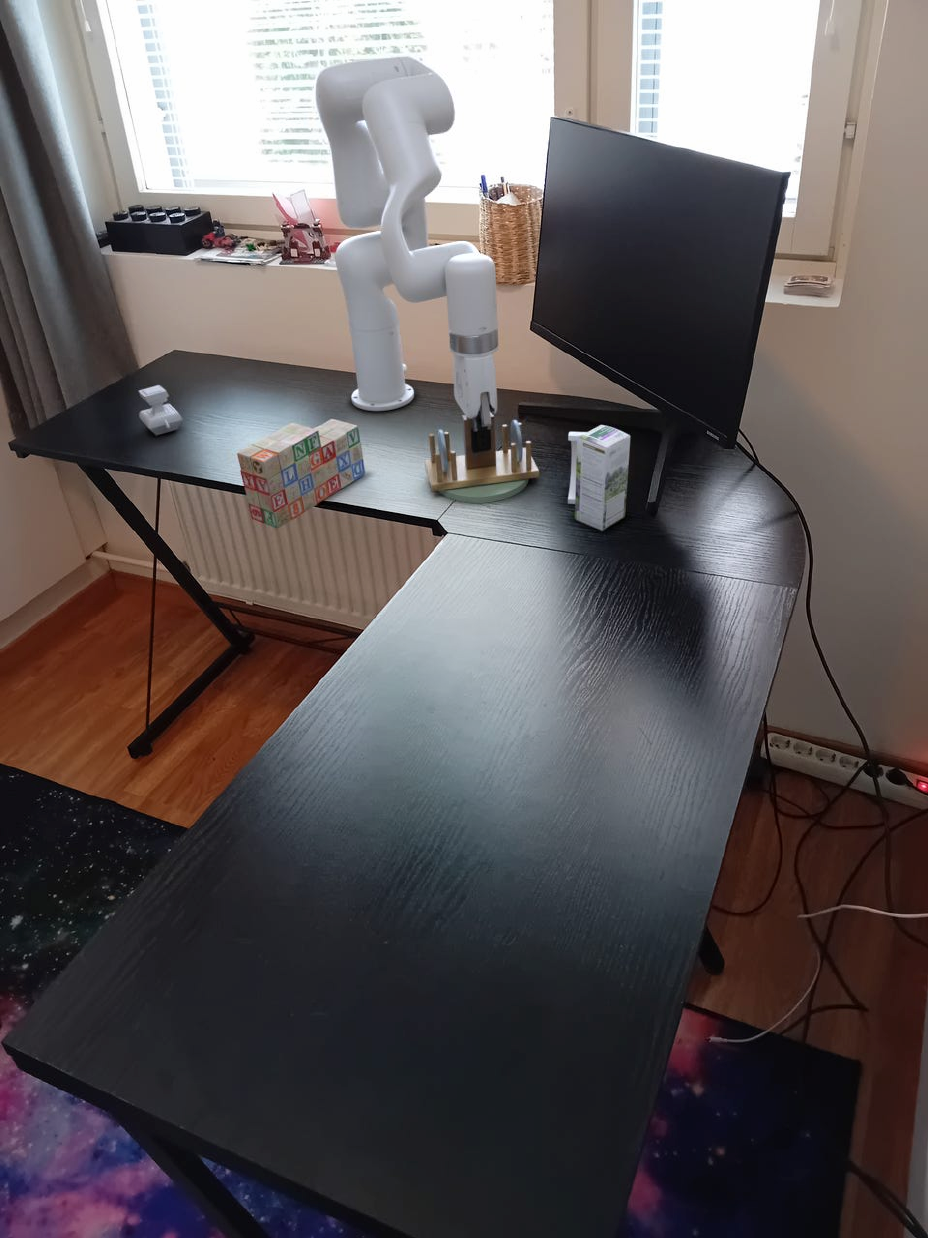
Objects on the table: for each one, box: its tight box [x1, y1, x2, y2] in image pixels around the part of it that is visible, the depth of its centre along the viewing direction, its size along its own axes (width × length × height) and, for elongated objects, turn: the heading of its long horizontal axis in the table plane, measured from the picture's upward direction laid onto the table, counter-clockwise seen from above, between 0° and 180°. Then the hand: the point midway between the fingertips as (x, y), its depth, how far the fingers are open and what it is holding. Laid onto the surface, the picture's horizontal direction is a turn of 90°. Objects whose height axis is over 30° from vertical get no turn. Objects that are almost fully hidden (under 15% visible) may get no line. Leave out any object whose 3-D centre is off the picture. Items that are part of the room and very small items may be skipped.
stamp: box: [138, 384, 183, 436], centre depth 182 cm, size 9×7×8 cm
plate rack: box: [424, 412, 540, 492], centre depth 156 cm, size 18×9×10 cm, turn 99°
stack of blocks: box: [236, 418, 366, 529], centre depth 155 cm, size 21×6×12 cm, turn 143°
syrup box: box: [574, 424, 631, 532], centre depth 143 cm, size 6×6×14 cm
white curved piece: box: [567, 431, 588, 505], centre depth 150 cm, size 5×6×12 cm
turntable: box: [438, 454, 530, 504], centre depth 160 cm, size 16×16×1 cm
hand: (479, 446), depth 156 cm, fingers closed on plate rack
